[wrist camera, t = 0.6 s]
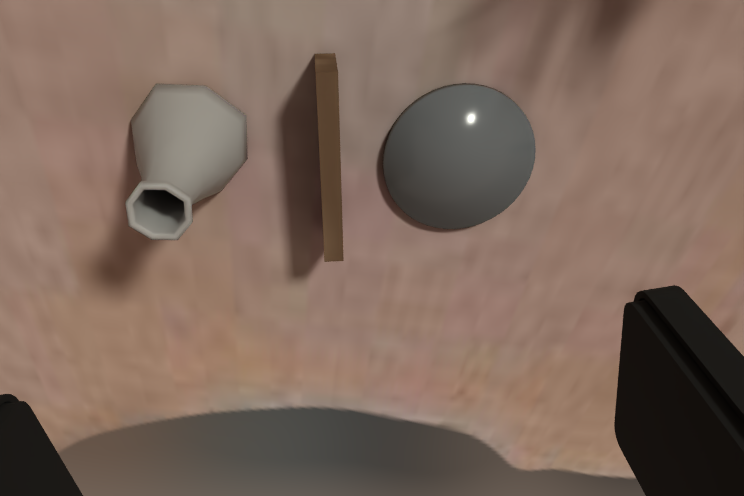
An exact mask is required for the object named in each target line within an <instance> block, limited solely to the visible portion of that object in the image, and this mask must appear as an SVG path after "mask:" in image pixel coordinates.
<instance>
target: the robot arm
mask: <svg viewBox="0 0 744 496" xmlns="http://www.w3.org/2000/svg"><path fill="white" fill-rule="evenodd" d="M615 434H616V438H617V441H618V444H619V446H620V448H621V450H622V452H623V454H624V456H625V458H626V460H627V462H628V463H629V465H630V467H631V469H632V471H633V473H634V475H635V476H636V478H637V480H638V482H639V484H640V486H641V487H642V489H643V491H644V493H645V495H646V496H744V356H743V355H742V354H741V353H740V352H739V351H738V350H737V349H736V348H735V346H734V345H733V344H732V343H731V342H730V341H729V340H728V339H727V338H726V336H725V335H724V334H723V333H722V332H721V331H720V330H719V329H718V328H717V327H716V325H715V324H714V323H713V322H712V321H711V320H710V319H709V318H708V317H707V315H706V314H705V313H704V312H703V311H702V310H701V309H700V308H699V307H698V305H697V304H696V303H695V302H694V301H693V300H692V299H691V298H690V297H689V296H688V294H687V293H686V292H685V291H684V290H683V289H682V288H680V287H679V286H675V285H674V286H668V287H662V288H656V289H650V290H643V291H639V292H637V294H636V295H635V298H634V302H629V303H626V305H625V307H624V315H623V327H622V339H621V351H620V363H619V375H618V387H617V399H616V411H615ZM0 496H83V495H82V493H81V492H80V490H79V488H78V487H77V485H76V483H75V482H74V480H73V478H72V476H71V475H70V473H69V471H68V470H67V468H66V466H65V465H64V463H63V461H62V460H61V458H60V456H59V454H58V453H57V451H56V449H55V448H54V446H53V444H52V443H51V441H50V439H49V438H48V436H47V434H46V433H45V431H44V429H43V428H42V426H41V424H40V422H39V421H38V419H37V417H36V416H35V414H34V412H33V411H32V409H31V407H30V406H29V405H28V404H27V403H26V402H24V401H19V400H18V399H17V398H16V397H15V396H13V395H11V394H3V395H0Z"/></svg>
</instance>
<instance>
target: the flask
mask: <svg viewBox="0 0 744 496" xmlns="http://www.w3.org/2000/svg"><path fill="white" fill-rule="evenodd" d="M131 126H132V133H133V141H134V149H135V156H136V164H137V168H138V170H139V173H140V175H141V178H142V179H141V182H140V183H139V184H138V186H137V187H136V188H135V190H134V191H133V192H132V194H131V195H130V196H129V198H128V199H127V200H126V203H125V204H126V211H127V218H128V225H129V227H131V228H133V229H134V230H136V231H138V232H139V233H141V234H143V235H145V236H146V237H148V238H150V239H151V240H178V239H179V238H180V237H181V236H182V234H183V233H184V232H185V231H186V229H187V228H188V227H189V226H190V224H191V223H192V221H193V217H192V205H193V204H195V203H197V202H198V201H200V200H202V199H204V198H206V197H209V196H211V195H214V194H216V193H218V192H220V191H222V190H223V189H224V187H225V186H226V185H227V184H228V182H229V181H230V180H231V179H232V177H233V176H234V175H235V174H236V173H237V171H238V170H239V169H240V168H241V166H242V165H243V164H244V163H245V161H246V160H247V159H248V158H247V126H246V115H245V114H244V113H242V112H241V111H240V110H238V109H237V108H235V107H234V106H233V105H231V104H230V103H229V102H227V101H226V100H225V99H223V98H222V97H221V96H219V95H218V94H216V93H215V92H214V91H212V90H211V89H210V88H208V87H207V86H199V85H176V84H156V85H155V86H154V87H153V89H152V90H151V92H150V93H149V95H148V96H147V97H146V99H145V100H144V102H143V103H142V105H141V106H140V107H139V109H138V110H137V112H136V113H135V115H134V116H133V117H132V119H131Z"/></svg>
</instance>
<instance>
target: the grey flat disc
mask: <svg viewBox="0 0 744 496" xmlns="http://www.w3.org/2000/svg"><path fill="white" fill-rule="evenodd" d="M534 161H535V139H534V134H533V130H532V128H531V125H530V123H529V121H528V119H527V117H526V115H525V114H524V113H523V111H522V110H521V109H520V108H519V107H518V105H517V104H516V103H515V102H513V101H512V100H511V99H510V98H509V97H507V96H506V95H505V94H503V93H501V92H499V91H497V90H495V89H493V88H490V87H487V86H484V85H478V84H467V83H462V84H453V85H448V86H444V87H441V88H438V89H435V90H433V91H431V92H429V93H427V94H425V95H423V96H421V97H420V98H418V99H417V100H415V101H414V102H413V103H412V104H411V105H409V106H408V107H407V108H406V109H405V110H404V111H403V113H402V114H401V115H400V116H399V117H398V119H397V120H396V122H395V123H394V125H393V126H392V128H391V130H390V132H389V134H388V137H387V140H386V143H385V147H384V152H383V172H384V176H385V181H386V184H387V187H388V190H389V192H390V194H391V196H392V198H393V200H394V201H395V202H396V204H397V205H398V206H399V207H400V208H401V209H402V210H403V211H404V212H405V213H406V214H407V215H409V216H410V217H411V218H413V219H415V220H417V221H418V222H420V223H423V224H425V225H428V226H432V227H436V228H443V229H459V228H466V227H471V226H475V225H478V224H481V223H483V222H485V221H487V220H490V219H492V218H493V217H495V216H497V215H498V214H500V213H501V212H502V211H504V210H505V209H506V208H507V207H509V206H510V205H511V204H512V203H513V202H514V201H515V199H516V198H517V197H518V196H519V195H520V193H521V192H522V190H523V189H524V187H525V186H526V184H527V182H528V180H529V178H530V175H531V172H532V169H533V165H534Z"/></svg>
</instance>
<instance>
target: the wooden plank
mask: <svg viewBox="0 0 744 496" xmlns="http://www.w3.org/2000/svg"><path fill="white" fill-rule="evenodd" d="M315 73H316V94H317V115H318V136H319V156H320V177H321V198H322V219H323V239H324V260H325V262H329V261H343V229H342V195H341V161H340V127H339V93H338V70H337V63H336V57H335V53H332V54H315Z"/></svg>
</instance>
